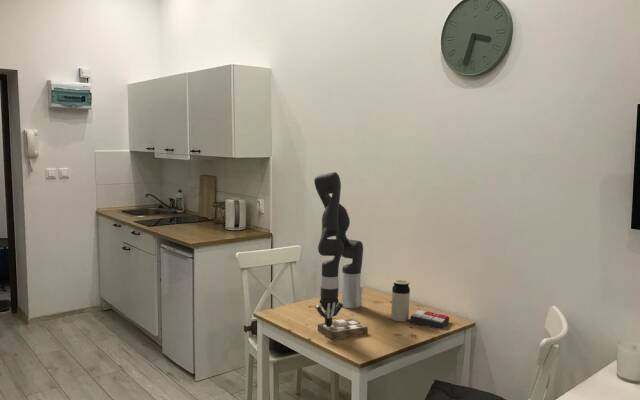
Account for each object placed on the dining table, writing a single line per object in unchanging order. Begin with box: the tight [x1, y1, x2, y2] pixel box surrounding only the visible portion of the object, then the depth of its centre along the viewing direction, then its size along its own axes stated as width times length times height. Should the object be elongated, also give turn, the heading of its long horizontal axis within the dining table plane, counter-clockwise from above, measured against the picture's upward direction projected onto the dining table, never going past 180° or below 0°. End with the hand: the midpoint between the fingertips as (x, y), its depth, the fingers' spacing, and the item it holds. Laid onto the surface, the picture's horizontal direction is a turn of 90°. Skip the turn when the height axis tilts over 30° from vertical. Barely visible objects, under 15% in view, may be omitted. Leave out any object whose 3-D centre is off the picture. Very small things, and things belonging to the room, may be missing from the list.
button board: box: [317, 318, 369, 341], centre depth 228 cm, size 18×12×3 cm
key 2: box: [347, 320, 359, 325], centre depth 232 cm, size 4×4×2 cm
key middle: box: [334, 319, 347, 327], centre depth 229 cm, size 4×4×2 cm
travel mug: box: [390, 279, 411, 323], centre depth 247 cm, size 8×8×18 cm
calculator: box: [409, 309, 450, 330], centre depth 244 cm, size 11×4×15 cm
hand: (328, 326), depth 226 cm, fingers closed
